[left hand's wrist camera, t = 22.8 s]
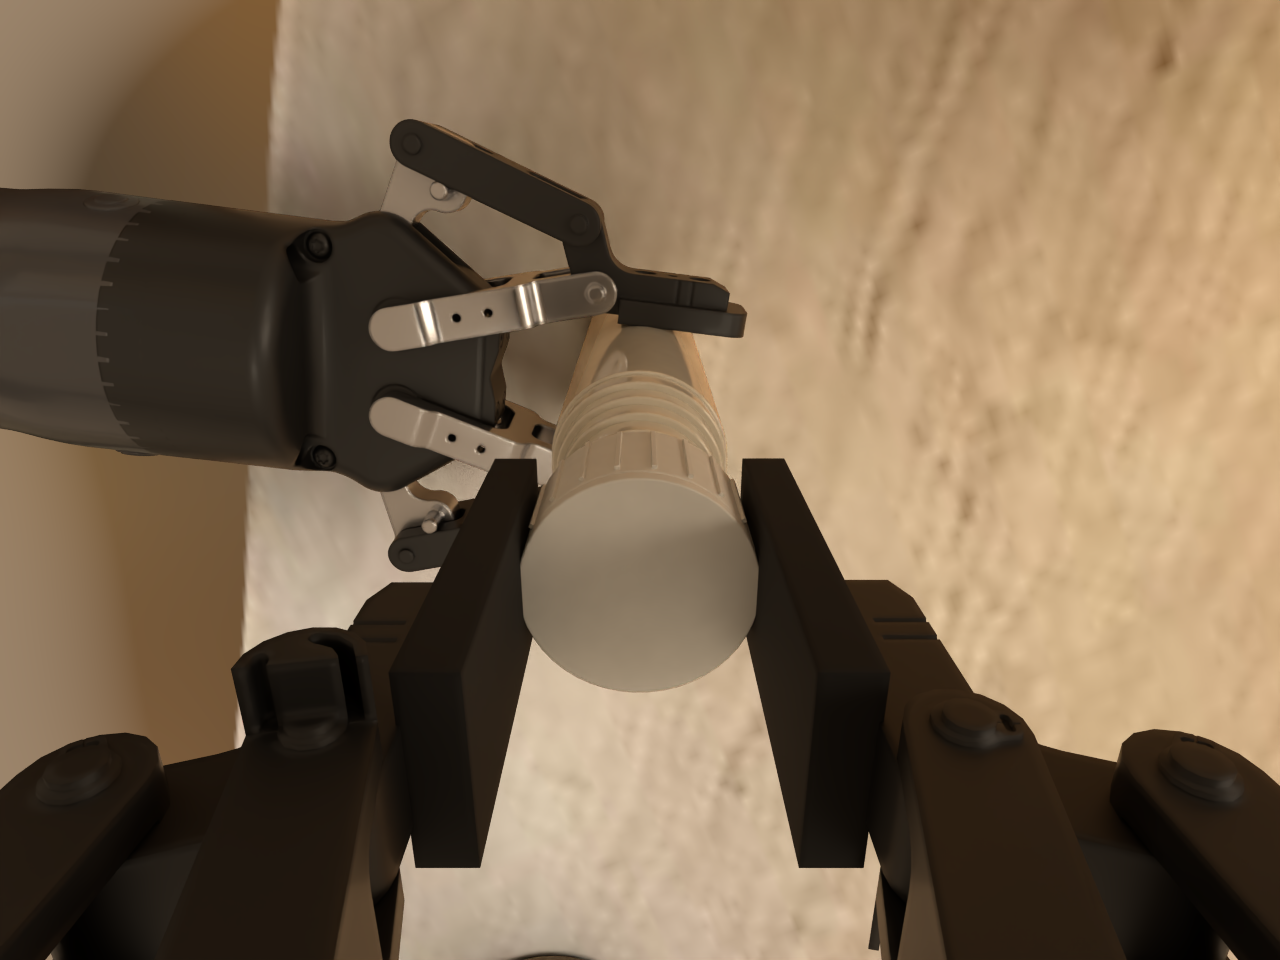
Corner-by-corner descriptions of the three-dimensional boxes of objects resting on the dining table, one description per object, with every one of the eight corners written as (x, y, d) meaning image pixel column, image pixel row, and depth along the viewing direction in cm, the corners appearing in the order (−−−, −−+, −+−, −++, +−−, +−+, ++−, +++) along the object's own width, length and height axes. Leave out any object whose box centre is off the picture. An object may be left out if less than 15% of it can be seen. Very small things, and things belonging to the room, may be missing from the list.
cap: (757, 432, 14) (778, 480, 12) (736, 625, 15) (752, 701, 13) (533, 421, 14) (512, 469, 12) (533, 617, 15) (515, 691, 13)
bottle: (600, 276, 30) (542, 429, 12) (704, 302, 30) (794, 488, 12) (576, 378, 31) (496, 648, 14) (676, 402, 32) (723, 695, 14)
